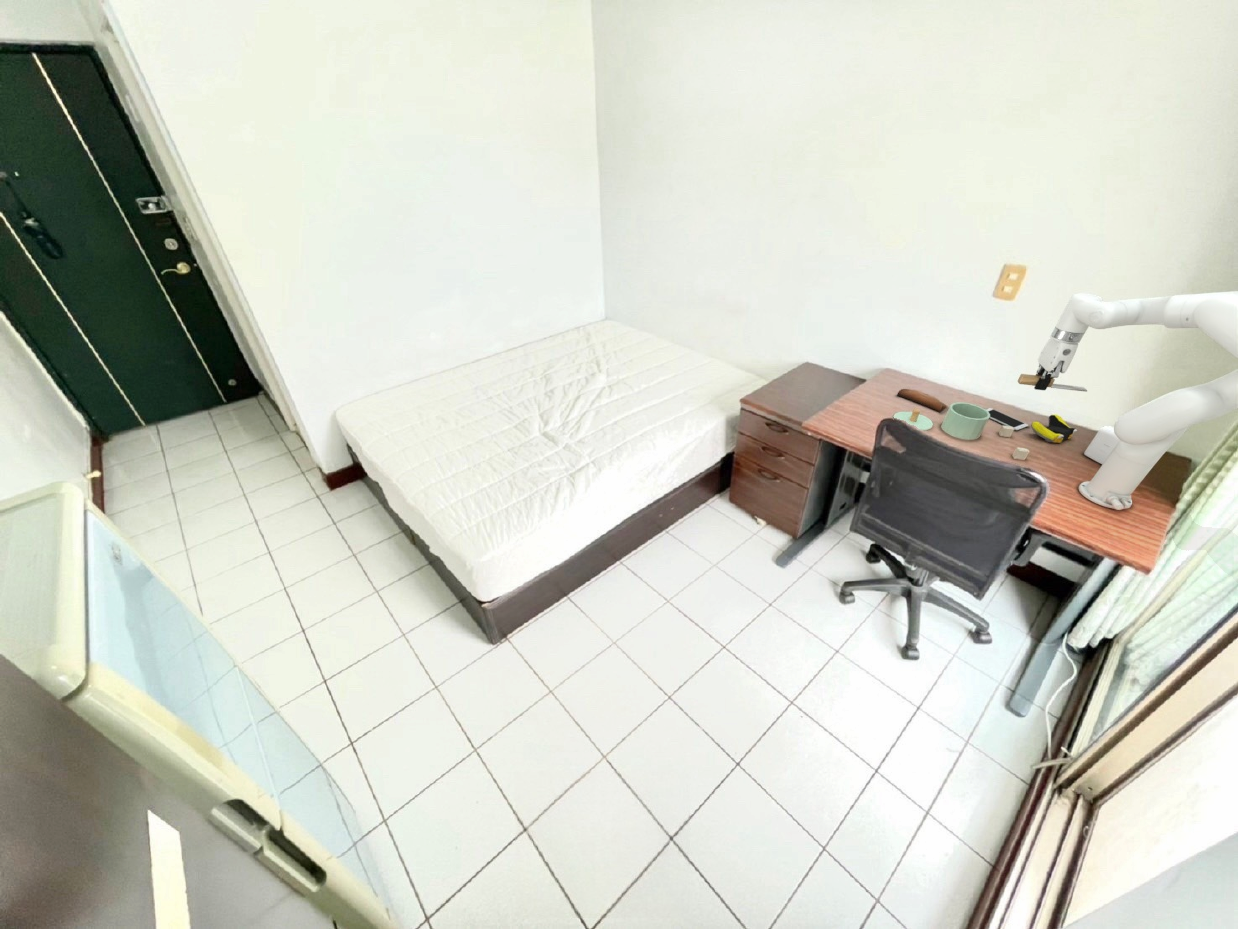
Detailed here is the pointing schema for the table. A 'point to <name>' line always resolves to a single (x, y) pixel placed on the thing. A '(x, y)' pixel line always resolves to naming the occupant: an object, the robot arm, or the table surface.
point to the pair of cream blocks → (1019, 452)
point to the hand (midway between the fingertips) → (1038, 387)
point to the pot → (965, 420)
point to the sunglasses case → (922, 399)
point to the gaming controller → (1053, 430)
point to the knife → (1034, 379)
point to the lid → (915, 419)
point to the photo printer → (1102, 444)
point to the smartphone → (1006, 419)
